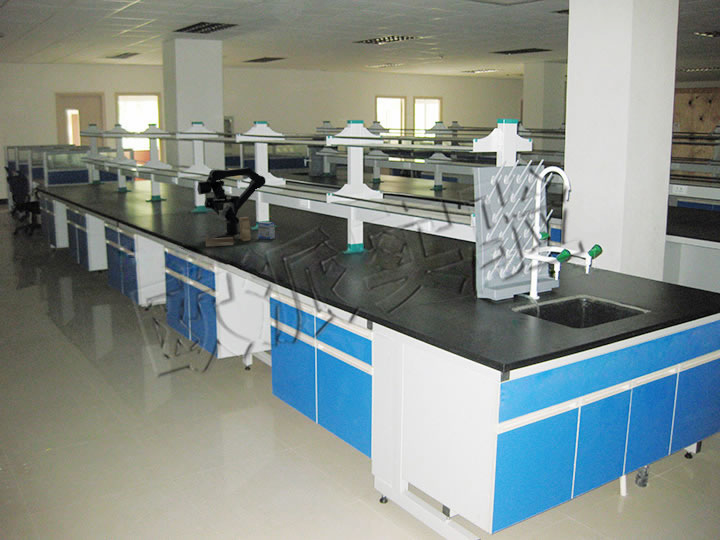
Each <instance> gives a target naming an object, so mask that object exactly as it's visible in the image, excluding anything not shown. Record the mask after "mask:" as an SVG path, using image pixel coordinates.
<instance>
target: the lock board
mask: <svg viewBox="0 0 720 540" xmlns="http://www.w3.org/2000/svg"><path fill="white" fill-rule="evenodd" d="M204 239H205V247H206V248H207V247H221V246H222V247H223V246H224V247H225V246H234V244H235V243H234V237H233V236H232V237H219V238H217V237H216V238H210V236H209V234H206V235H205V238H204Z"/></svg>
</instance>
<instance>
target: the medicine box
mask: <svg viewBox="0 0 720 540" xmlns="http://www.w3.org/2000/svg"><path fill="white" fill-rule="evenodd" d="M257 231H258V232H257V233H258V239H261V240H263V239H264V240H274V239H276V234H275V233H276V231H275V222H271V221H270V222H269V221H260V222H257Z"/></svg>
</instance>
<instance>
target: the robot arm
mask: <svg viewBox="0 0 720 540" xmlns="http://www.w3.org/2000/svg"><path fill="white" fill-rule="evenodd" d="M238 176H247V178H249V179H250V180H249V184H248V186H247V187H246V188H245V190H243V192H242V193H241V194H240V195H232V196H231V197H230V198H228V195H227V194H226V190H225V188H224V186H225V181H224V179H226V178H231V177H238ZM265 184H266V177H265V176H263V175H259V174H258V173H257V172H256V171H254V170H253V169H252V168H251V167H247V166H246V167H242V168H233V169H227V170H226V169H211V170H210V171H209V173H208V178H207V179H206V181H198V182H197V188H196V189H197V194H198V195H208V194H211V193H213V197H210V196H209V197H206V198H205V200H204V208H205V209H206V208H208V209H211V210H213V211H214V212H215V213H216V215H218V216H219V215H220V211H222V212H221V217H222V219H223V220H224V221H225V223H226V232H224V234H226V235H237V234H240V231H239V224H240V220H239V218H238V217H237V215H238V213H239V210H240V209H241V208H242V207H243V205H244V204H245V203H246V202H247V200H249V198H250V197H251V196H252V195H253V194H254V193H255V192H256V191H255V189H257V188H259V189H261V188H262V187H263V186H265ZM225 204H227V205H226V206H225ZM224 206H225V207H224Z"/></svg>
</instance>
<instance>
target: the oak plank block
mask: <svg viewBox="0 0 720 540" xmlns="http://www.w3.org/2000/svg"><path fill="white" fill-rule="evenodd" d="M238 219H239V230H240V231H239V232H240V233H239V234H240V235H239V236H240V241H243V242H246V241H251V225H250V224H251V223H250V217H248V216H242V217H239V218H238Z"/></svg>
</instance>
